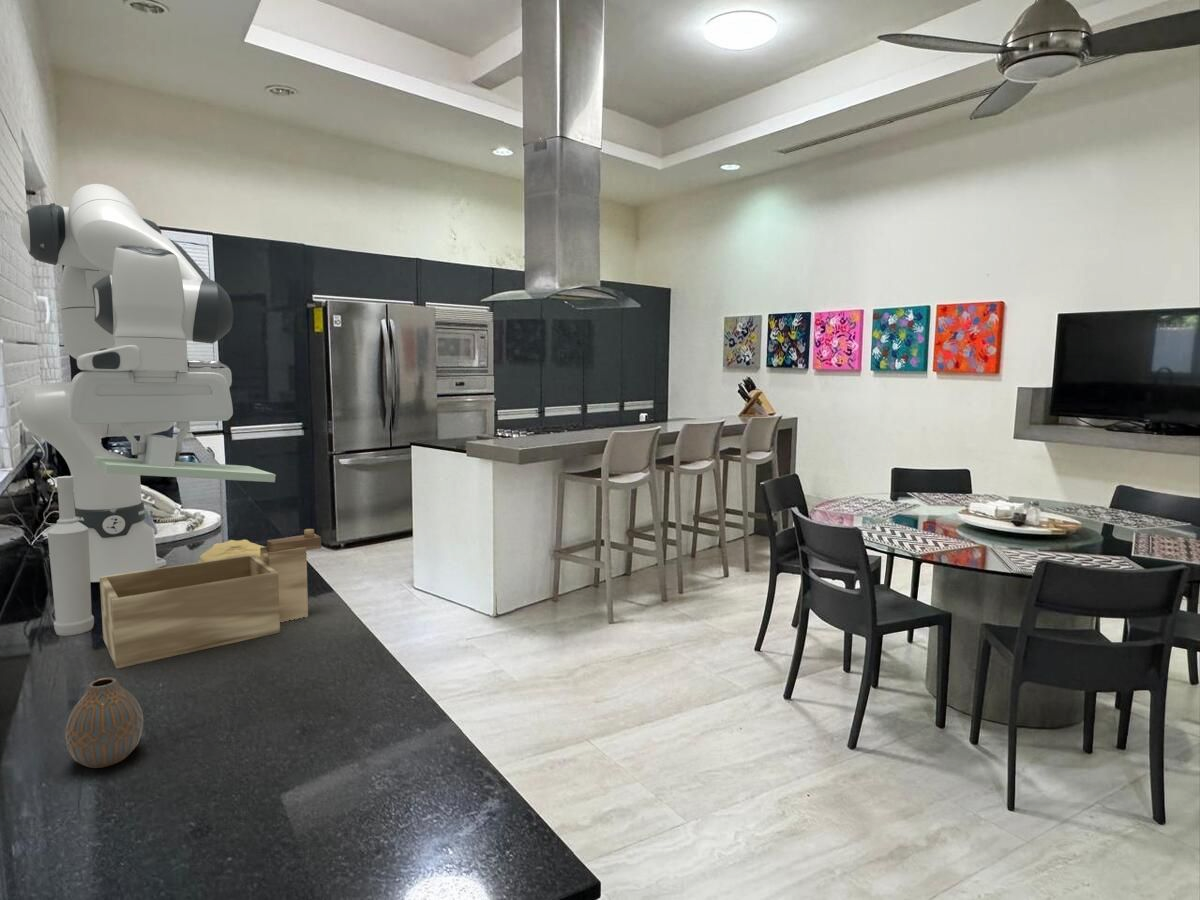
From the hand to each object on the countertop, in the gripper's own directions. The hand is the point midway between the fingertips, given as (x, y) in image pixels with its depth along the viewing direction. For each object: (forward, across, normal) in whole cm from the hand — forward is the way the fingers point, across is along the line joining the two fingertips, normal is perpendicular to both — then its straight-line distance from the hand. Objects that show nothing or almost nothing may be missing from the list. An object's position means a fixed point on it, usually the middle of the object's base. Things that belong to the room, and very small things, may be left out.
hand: (157, 453), depth 102 cm
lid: (+3, -4, 0) cm, 5 cm away
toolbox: (+30, -7, -3) cm, 31 cm away
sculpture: (+30, -14, -20) cm, 39 cm away
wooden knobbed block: (+18, -20, -3) cm, 27 cm away
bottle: (+30, +10, -17) cm, 36 cm away
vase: (+30, +11, +30) cm, 44 cm away
